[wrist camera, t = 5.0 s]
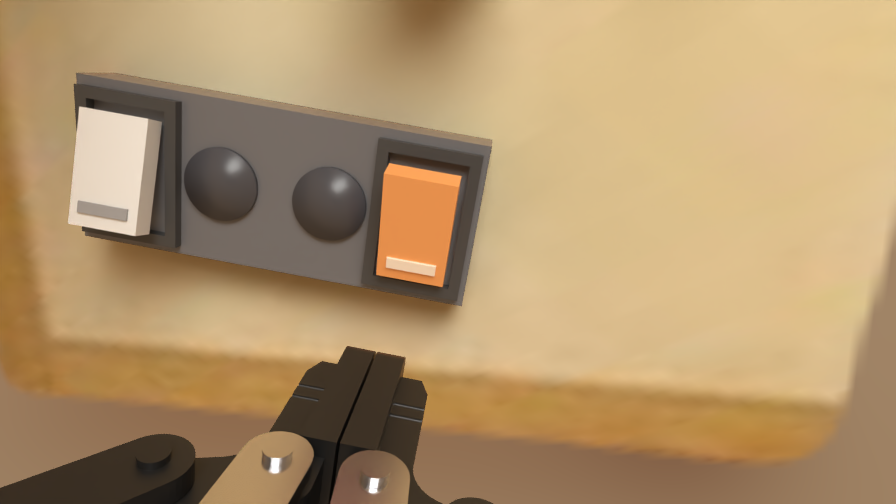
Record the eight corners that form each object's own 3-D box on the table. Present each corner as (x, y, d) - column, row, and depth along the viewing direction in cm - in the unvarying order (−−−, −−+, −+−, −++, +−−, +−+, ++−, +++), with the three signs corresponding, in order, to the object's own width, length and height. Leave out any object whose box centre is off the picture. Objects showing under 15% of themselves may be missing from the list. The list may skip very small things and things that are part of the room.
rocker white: (96, 110, 28) (77, 106, 27) (162, 121, 28) (146, 118, 27) (84, 222, 29) (65, 223, 28) (149, 234, 29) (133, 236, 28)
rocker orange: (389, 163, 27) (383, 174, 25) (461, 176, 26) (458, 188, 25) (381, 262, 30) (375, 276, 29) (445, 274, 30) (442, 288, 29)
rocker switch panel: (114, 73, 31) (67, 72, 28) (492, 140, 30) (491, 148, 27) (119, 222, 34) (77, 238, 30) (464, 286, 33) (460, 310, 30)
